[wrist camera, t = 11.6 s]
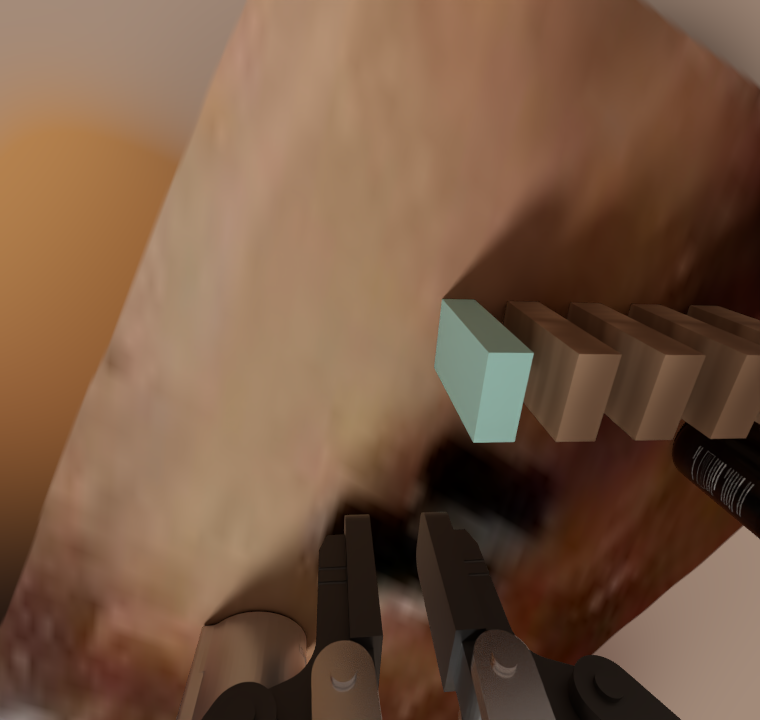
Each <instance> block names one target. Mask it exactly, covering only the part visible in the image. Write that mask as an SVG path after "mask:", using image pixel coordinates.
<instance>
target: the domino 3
mask: <svg viewBox="0 0 760 720" xmlns="http://www.w3.org/2000/svg"><path fill="white" fill-rule="evenodd" d="M567 320H568V321H570V322H571V323H573V324H574V325H576V326H578V327H579V328H581V329H582V330H584V331H586V332H587V333H589V334H590V335H592V336H593V337H595V338H597V339H598V340H600V341H601V342H603V343H604V344H606V345H608V346H609V347H611V348H612V349H614V350H616V351H617V352H619V353H620V354H622V356H621V359H620V362H619V365H618V369H617V372H616V375H615V378H614V382H613V385H612V388H611V391H610V394H609V398H608V401H607V404H606V407H605V410H604V413H605V414H606V415H607V416H608V417H609V418H610V419H611V420H613V421H614V422H615V423H616V424H617V425H618V426H619V427H620V428H622V429H623V430H624V431H625V432H626V433H627V434H628V435H629V436H631V437H632V438H633V439H634V440H672V439H673V437H674V434H675V432H676V429H677V427H678V424H679V422H680V419H681V417H682V414H683V412H684V409H685V407H686V404H687V402H688V399H689V397H690V394H691V392H692V389H693V387H694V384H695V382H696V379H697V377H698V374H699V372H700V369H701V367H702V364H703V362H704V359H705V357H706V355H705V354H703V353H701V352H699V351H697V350H694V349H692V348H690V347H688V346H686V345H684V344H682V343H680V342H678V341H676V340H674V339H672V338H670V337H668V336H666V335H664V334H662V333H660V332H658V331H656V330H654V329H652V328H650V327H648V326H646V325H644V324H642V323H640V322H638V321H636V320H634V319H632V318H630V317H628V316H626V315H624V314H622V313H620V312H617V311H615V310H613V309H611V308H609V307H607V306H605V305H603V304H601V303H573V302H570V307H569V311H568V315H567Z"/></svg>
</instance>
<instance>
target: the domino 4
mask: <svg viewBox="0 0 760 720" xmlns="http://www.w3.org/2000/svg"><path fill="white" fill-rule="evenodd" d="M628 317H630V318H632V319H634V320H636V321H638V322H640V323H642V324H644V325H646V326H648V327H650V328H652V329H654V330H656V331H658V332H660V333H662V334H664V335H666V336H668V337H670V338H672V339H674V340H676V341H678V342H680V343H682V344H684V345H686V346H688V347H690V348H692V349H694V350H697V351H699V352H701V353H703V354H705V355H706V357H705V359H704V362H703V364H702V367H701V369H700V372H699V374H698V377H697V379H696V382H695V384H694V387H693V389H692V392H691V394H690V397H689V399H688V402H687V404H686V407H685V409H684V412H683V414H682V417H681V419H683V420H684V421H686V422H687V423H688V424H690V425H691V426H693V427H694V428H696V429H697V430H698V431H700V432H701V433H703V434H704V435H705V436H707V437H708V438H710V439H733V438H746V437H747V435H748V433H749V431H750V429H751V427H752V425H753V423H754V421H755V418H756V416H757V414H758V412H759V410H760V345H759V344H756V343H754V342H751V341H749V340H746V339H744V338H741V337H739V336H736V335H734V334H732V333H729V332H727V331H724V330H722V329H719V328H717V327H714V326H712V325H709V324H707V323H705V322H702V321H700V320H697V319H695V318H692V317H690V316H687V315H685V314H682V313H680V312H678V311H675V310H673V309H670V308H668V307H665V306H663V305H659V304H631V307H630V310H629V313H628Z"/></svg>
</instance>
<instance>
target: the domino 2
mask: <svg viewBox="0 0 760 720" xmlns="http://www.w3.org/2000/svg"><path fill="white" fill-rule="evenodd" d="M503 326H504V327H506V328H507V329H508V330H509V331H510V332H511V333H512V334H513V335H514V336H516V337H517V338H518V339H519V340H520V341H521V342H522V343H523V344H524V345H526V346H527V347H528V348H529V349H530V350H531V351H532V352H533V353H534V355H533V359H532V364H531V368H530V373H529V378H528V382H527V387H526V391H525V396H524V401H523V403H524V404H525V405H526V407H527V408H528V409H529V410H530V411H531V413H532V414H533V415H534V416H535V417H536V419H537V420H538V421H539V422H540V423H541V425H542V426H543V427H544V428H545V429H546V431H547V432H548V433H549V434H550V436H551V437H552V438H553V439H554V440H555V442H577V441H595V439H596V436H597V433H598V430H599V427H600V423H601V420H602V417H603V414H604V410H605V407H606V404H607V401H608V398H609V394H610V391H611V388H612V385H613V382H614V378H615V375H616V372H617V369H618V365H619V362H620V359H621V356H622V354H620V353H619V352H617V351H616V350H614V349H612V348H611V347H609V346H608V345H606V344H604V343H603V342H601V341H600V340H598V339H597V338H595V337H593V336H592V335H590V334H589V333H587V332H586V331H584V330H582V329H581V328H579V327H578V326H576V325H574V324H573V323H571V322H570V321H568V320H567V319H565V318H563V317H562V316H560V315H559V314H557V313H556V312H554V311H552V310H551V309H549V308H548V307H546V306H544V305H543V304H541V303H540V302H530V301H507V306H506V311H505V317H504V322H503Z"/></svg>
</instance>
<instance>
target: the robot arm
mask: <svg viewBox="0 0 760 720" xmlns="http://www.w3.org/2000/svg"><path fill="white" fill-rule="evenodd" d="M416 560H417V569H418V574H419V579H420V584H421V588H422V593H423V597H424V602H425V607H426V611H427V616H428V621H429V625H430V630H431V634H432V639H433V644H434V648H435V653H436V657H437V662H438V667H439V671H440V676H441V681H442V685H443V690H444V692H449V691H456V693H457V697H458V701H459V706H460V711H459V716H458V720H681V719H680V718H679V717H677V716H676V715H675V714H674V713H673V712H671V710H669V709H668V708H667V707H666V706H665V705H664V704H663V703H661V702H660V701H659V700H658V699H657V698H656V697H654V696H653V695H652V694H651V693H650V692H649V691H648V690H646V689H645V688H644V687H643V686H642V685H641V684H640V683H638V682H637V681H636V680H635V679H634V678H633V677H632V676H630V675H629V674H628V673H627V672H626V671H625V670H624V669H622V668H621V667H620V666H619V665H617V664H616V663H614V662H612V661H611V660H609V659H607V658H604V657H601V656H597V655H588V656H584V657H582V658H580V659H579V660H578V661H577V663H576V664H575V666H573V665H569V664H565V663H562V662H558V661H554V660H551V659H547V658H544V657H541V656H539V655H537V654H535V653H533V652H532V651H530V650H529V649H528V648H527V646H526V645H525V644H524V643H523V642H522V641H521V640H520V639H519V638H518V637H516V636H515V635H514V633H513V631H512V629H511V627H510V625H509V623H508V620H507V617H506V615H505V612H504V610H503V607H502V605H501V602H500V600H499V597H498V594H497V592H496V589H495V587H494V584H493V582H492V579H491V577H490V576H489V572H488V569H487V566H486V564H485V562H484V559H483V556H482V554H481V551H480V549H479V546H478V544H477V542H476V541H475V540H474V539H473V538H472V537H471V535H470V534H469V533H468V532H467V531H466V530H465V529H462V530H453V528H452V525H451V522H450V519H449V516H448V514H447V512H422V513H421V516H420V524H419V532H418V541H417V549H416ZM382 640H383V632H382V623H381V614H380V605H379V596H378V587H377V578H376V569H375V560H374V551H373V542H372V533H371V524H370V516H369V514H366V515H345V520H344V535H327V536H326V538H325V540H324V542H323V544H322V546H321V548H320V550H319V572H318V604H317V636H316V646H315V650H314V653H313V655H312V657H311V659H310V661H309V662H308V664H307V665H306V646H307V640H306V635H305V633H304V631H303V629H302V628H301V627H300V626H299V625H298V624H297V623H296V622H294V621H293V620H291V619H290V618H287V617H285V616H282V615H280V614H275V613H270V612H247V613H242V614H237V615H234V616H232V617H229V618H227V619H225V620H223V621H221V622H220V623H218V624H216V625H212V626H204V627H202V630H201V634H200V637H199V641H198V644H197V648H196V652H195V655H194V659H193V662H192V666H191V669H190V673H189V676H188V680H187V684H186V687H185V691H184V694H183V698H182V701H181V705H180V708H179V712H178V716H177V719H176V720H382V717H381V710H380V702H379V695H378V686H379V675H380V663H381V652H382Z"/></svg>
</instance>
